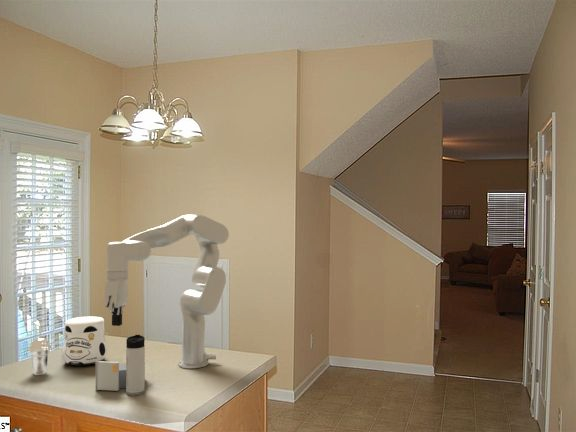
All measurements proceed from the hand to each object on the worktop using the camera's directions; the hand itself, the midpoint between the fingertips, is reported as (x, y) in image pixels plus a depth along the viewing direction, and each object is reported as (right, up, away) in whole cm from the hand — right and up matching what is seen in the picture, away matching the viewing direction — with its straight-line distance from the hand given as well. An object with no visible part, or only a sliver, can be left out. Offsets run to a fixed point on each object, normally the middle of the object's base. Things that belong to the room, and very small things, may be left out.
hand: (116, 325), depth 185 cm
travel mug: (+9, -23, -6) cm, 25 cm away
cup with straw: (-36, -22, +14) cm, 44 cm away
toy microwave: (+1, -23, +2) cm, 23 cm away
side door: (-2, -22, -5) cm, 23 cm away
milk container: (-23, -22, +28) cm, 43 cm away
